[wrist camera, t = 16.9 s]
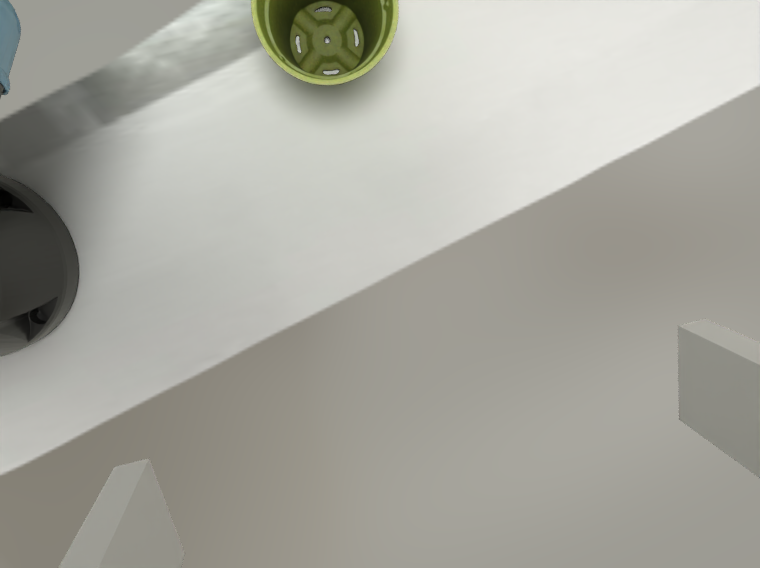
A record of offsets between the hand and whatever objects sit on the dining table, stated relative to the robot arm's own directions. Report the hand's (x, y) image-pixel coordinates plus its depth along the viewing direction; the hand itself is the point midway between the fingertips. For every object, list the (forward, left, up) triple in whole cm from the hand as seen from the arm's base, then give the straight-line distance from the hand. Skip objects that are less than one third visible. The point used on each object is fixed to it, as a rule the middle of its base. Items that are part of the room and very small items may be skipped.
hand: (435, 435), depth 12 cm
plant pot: (0, +17, -33) cm, 37 cm away
